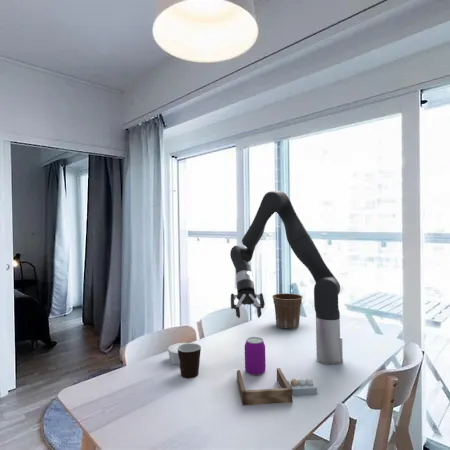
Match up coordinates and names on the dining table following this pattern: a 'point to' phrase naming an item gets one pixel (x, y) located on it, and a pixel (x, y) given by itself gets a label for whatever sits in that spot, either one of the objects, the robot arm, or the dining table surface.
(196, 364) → the coffee mug
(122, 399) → the dining table surface
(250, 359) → the beverage can
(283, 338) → the dining table surface
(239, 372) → the walnut U-seat
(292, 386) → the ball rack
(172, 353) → the ramekin
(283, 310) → the plant pot
